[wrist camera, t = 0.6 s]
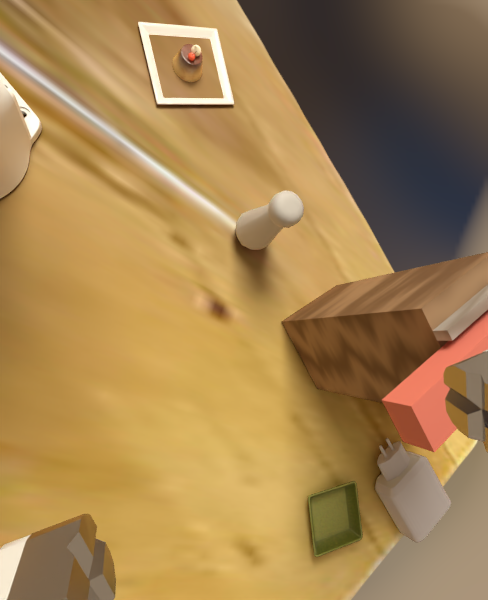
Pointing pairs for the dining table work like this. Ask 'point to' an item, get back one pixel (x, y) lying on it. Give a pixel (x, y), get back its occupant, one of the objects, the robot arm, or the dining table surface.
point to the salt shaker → (269, 220)
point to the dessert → (186, 61)
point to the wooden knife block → (387, 325)
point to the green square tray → (335, 518)
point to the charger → (410, 491)
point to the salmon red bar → (433, 390)
